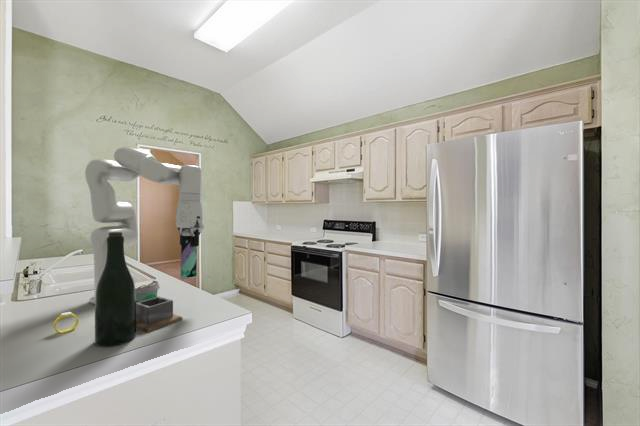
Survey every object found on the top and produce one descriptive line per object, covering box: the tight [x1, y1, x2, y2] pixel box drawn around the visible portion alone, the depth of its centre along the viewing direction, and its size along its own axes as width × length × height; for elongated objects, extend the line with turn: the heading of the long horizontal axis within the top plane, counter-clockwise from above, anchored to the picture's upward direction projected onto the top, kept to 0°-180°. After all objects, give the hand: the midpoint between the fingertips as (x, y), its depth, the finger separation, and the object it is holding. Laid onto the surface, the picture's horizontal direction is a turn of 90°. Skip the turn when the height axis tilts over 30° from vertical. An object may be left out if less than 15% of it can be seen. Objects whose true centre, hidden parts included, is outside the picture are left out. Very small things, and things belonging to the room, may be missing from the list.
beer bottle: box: [94, 232, 138, 347], centre depth 87 cm, size 10×10×33 cm
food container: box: [135, 280, 160, 303], centre depth 111 cm, size 12×6×10 cm, turn 168°
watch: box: [52, 311, 79, 334], centre depth 92 cm, size 6×3×6 cm, turn 141°
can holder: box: [136, 296, 183, 333], centre depth 100 cm, size 14×12×7 cm
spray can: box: [180, 228, 198, 280], centre depth 109 cm, size 6×6×20 cm
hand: (189, 245), depth 109 cm, fingers closed on spray can, 5 cm apart
